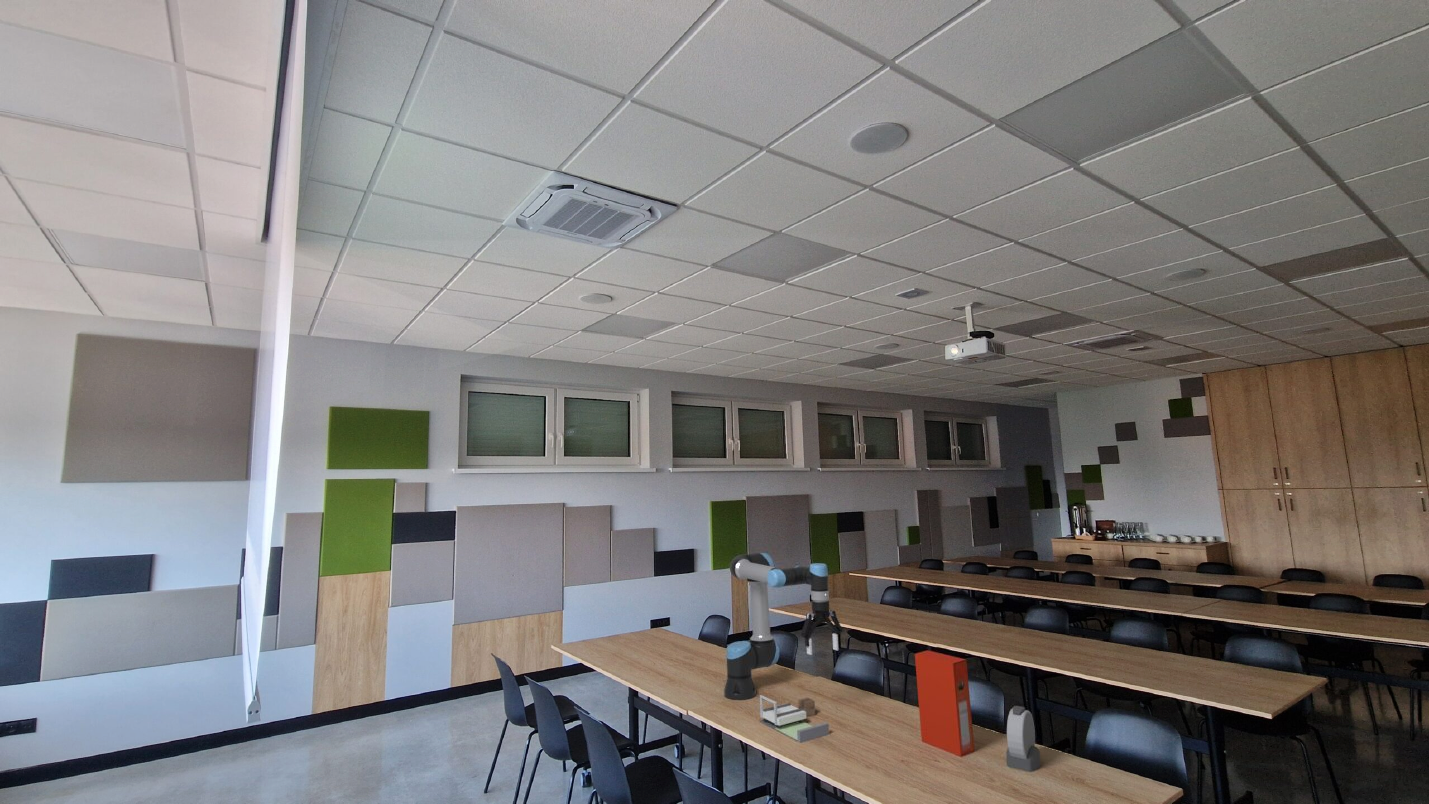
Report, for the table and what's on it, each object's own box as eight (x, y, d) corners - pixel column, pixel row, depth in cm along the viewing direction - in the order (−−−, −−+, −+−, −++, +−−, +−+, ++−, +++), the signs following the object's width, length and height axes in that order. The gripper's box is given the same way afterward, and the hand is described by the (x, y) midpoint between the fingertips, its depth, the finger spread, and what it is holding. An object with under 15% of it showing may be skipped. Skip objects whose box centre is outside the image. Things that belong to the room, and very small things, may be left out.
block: (798, 714, 269) (798, 699, 270) (807, 711, 272) (807, 697, 273) (806, 717, 265) (805, 702, 266) (815, 715, 268) (814, 700, 268)
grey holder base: (759, 721, 262) (758, 711, 263) (786, 714, 270) (786, 704, 270) (800, 742, 239) (799, 731, 239) (829, 734, 246) (828, 723, 247)
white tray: (759, 720, 261) (758, 694, 263) (787, 713, 269) (786, 687, 270) (777, 730, 250) (776, 702, 252) (806, 722, 258) (805, 695, 259)
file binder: (960, 757, 222) (952, 662, 227) (921, 741, 237) (914, 653, 241) (974, 751, 226) (966, 659, 231) (935, 736, 241) (928, 649, 245)
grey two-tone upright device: (1014, 751, 226) (1009, 697, 228) (1045, 758, 219) (1039, 703, 222) (1001, 767, 213) (996, 710, 216) (1034, 775, 207) (1028, 716, 209)
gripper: (800, 604, 260) (803, 657, 258) (849, 598, 271) (851, 649, 268) (791, 602, 267) (793, 653, 264) (838, 596, 278) (841, 645, 275)
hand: (822, 651), depth 266 cm, fingers open, 13 cm apart
